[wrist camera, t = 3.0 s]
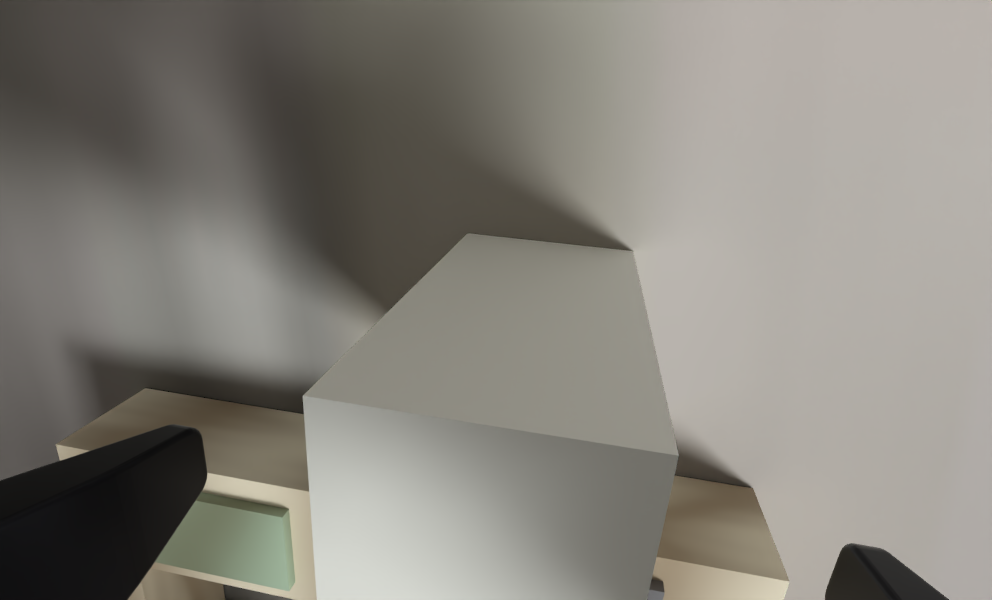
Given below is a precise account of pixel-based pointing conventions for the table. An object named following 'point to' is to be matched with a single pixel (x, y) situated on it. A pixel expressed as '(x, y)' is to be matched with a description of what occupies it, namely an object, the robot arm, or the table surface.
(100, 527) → the robot arm
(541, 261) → the white squarish block
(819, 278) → the table surface
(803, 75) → the table surface
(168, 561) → the socket block
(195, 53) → the table surface
